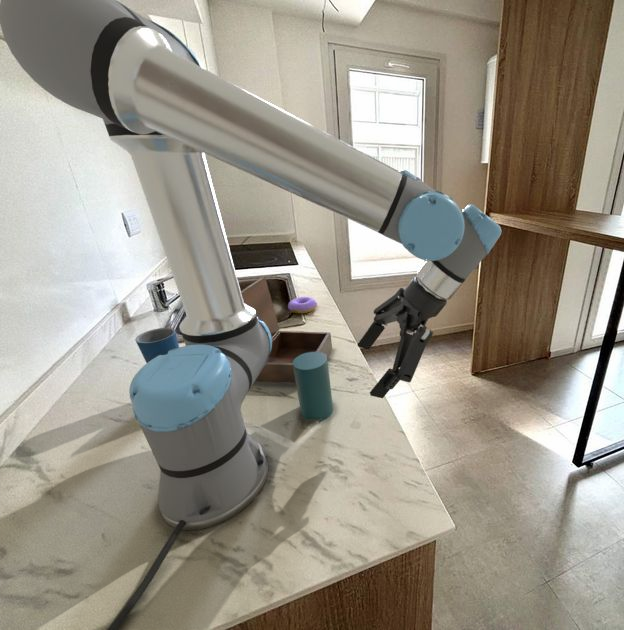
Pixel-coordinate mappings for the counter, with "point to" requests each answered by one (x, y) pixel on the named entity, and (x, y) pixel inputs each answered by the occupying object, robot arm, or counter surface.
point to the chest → (292, 353)
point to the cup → (157, 342)
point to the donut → (302, 305)
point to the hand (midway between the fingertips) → (369, 369)
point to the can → (313, 385)
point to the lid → (261, 303)
